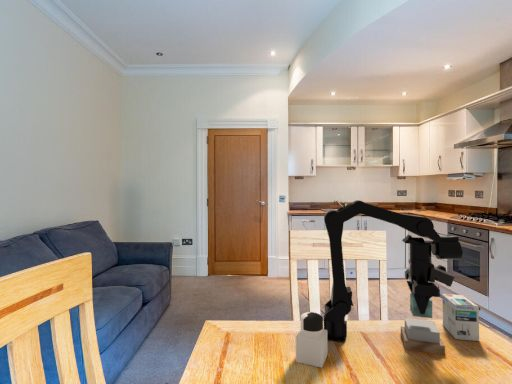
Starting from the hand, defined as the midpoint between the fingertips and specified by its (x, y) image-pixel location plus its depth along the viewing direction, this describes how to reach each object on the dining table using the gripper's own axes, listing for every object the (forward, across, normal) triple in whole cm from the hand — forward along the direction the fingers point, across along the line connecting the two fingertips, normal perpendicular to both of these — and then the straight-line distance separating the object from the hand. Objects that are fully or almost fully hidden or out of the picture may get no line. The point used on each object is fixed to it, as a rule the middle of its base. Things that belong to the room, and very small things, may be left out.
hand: (420, 310), depth 92 cm
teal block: (+1, 0, 0) cm, 1 cm away
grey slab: (+7, 0, 0) cm, 7 cm away
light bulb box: (+10, +11, -13) cm, 20 cm away
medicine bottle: (+10, -18, +30) cm, 36 cm away
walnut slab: (+10, 0, 0) cm, 10 cm away
